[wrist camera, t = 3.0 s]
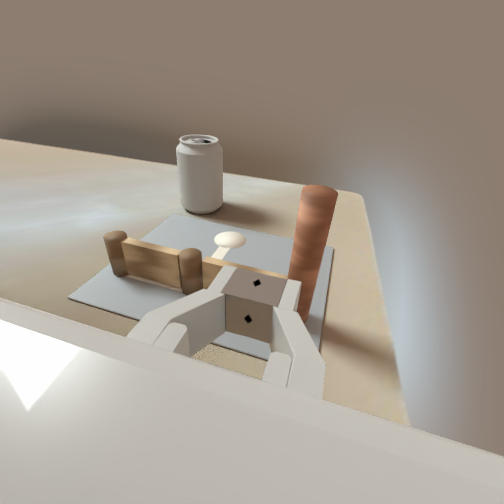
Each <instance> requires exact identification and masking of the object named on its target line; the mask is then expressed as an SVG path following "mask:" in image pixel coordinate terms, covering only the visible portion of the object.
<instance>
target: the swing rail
mask: <svg viewBox="0 0 504 504" xmlns="http://www.w3.org/2000/svg"><path fill="white" fill-rule="evenodd" d="M337 196H338V193H337V191H336V190H334V189H332V188H330V187H326V186H322V185H308V186H305V187H303V188H302V194H301V200H300V206H299V212H298V218H297V224H296V230H295V236H294V242H293V248H292V254H291V260H290V266H289V272H288V276H287V275H283V274H279V273H275V272H270V271H266V270H262V269H258V268H254V267H250V266H245V265H241V264H237V263H233V262H229V261H225V260H220V259H216V258H212V257H208V256H206V257H205V258H204V259H203V261H202V270H203V289H208V287H209V286H210V285H211V283H212V282H213V280H214V279H215V277H216V276H217V275H218V273H219V272H220V270H221V269H222V267H223V266H225V265H229V266H233V267H237V268H242V269H246V270H250V271H254V272H258V273H262V274H266V275H270V276H275V277H279V278H284V279H291V280H296V281H301V283H302V284H301V290H300V296H299V301H298V307H297V312H298V314H299V315H300V317H301V319H302V321H303V323H305V322H306V321H307V319H308V315H309V311H310V307H311V303H312V299H313V295H314V291H315V286H316V282H317V278H318V274H319V270H320V266H321V262H322V258H323V254H324V249H325V245H326V241H327V237H328V233H329V229H330V225H331V221H332V217H333V213H334V208H335V204H336V200H337Z"/></svg>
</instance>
